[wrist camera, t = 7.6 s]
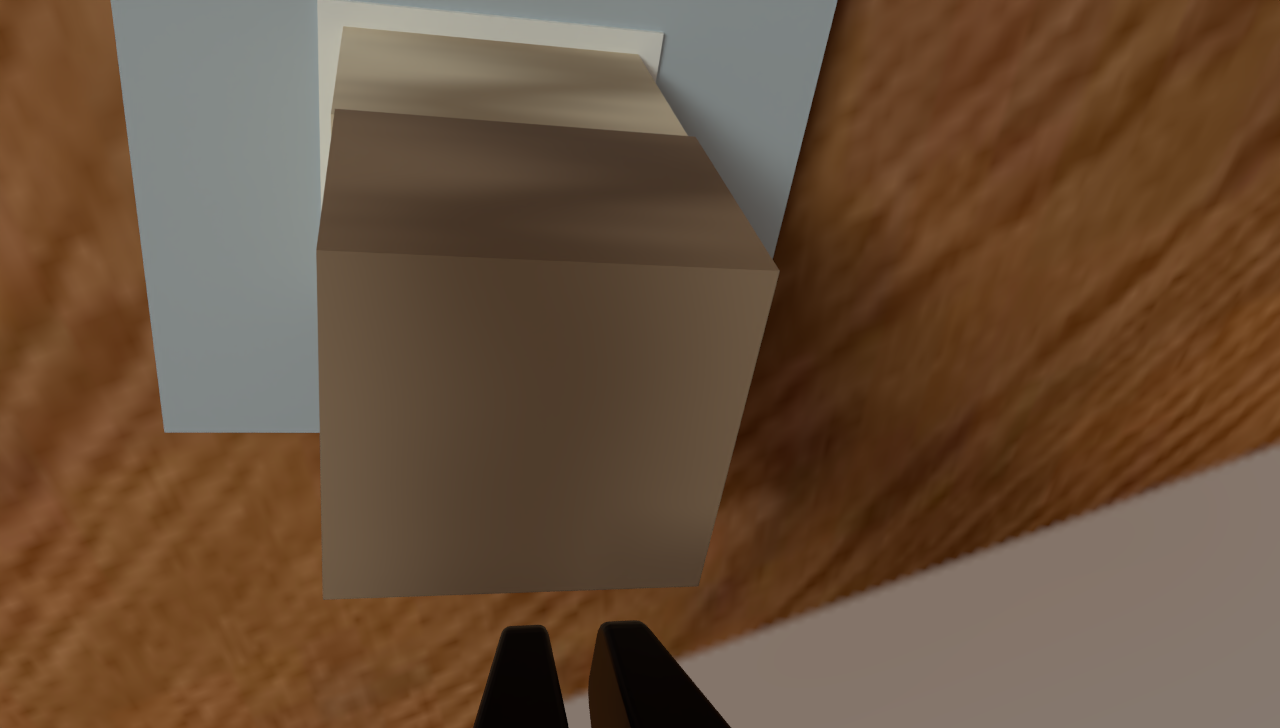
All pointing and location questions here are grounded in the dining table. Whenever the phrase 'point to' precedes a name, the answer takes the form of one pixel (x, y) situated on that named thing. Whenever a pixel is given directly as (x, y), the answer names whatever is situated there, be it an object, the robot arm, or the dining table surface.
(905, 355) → the dining table surface
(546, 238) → the walnut block
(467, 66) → the maple block
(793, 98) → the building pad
